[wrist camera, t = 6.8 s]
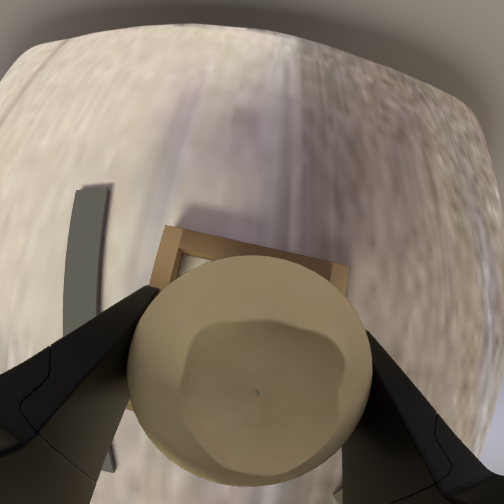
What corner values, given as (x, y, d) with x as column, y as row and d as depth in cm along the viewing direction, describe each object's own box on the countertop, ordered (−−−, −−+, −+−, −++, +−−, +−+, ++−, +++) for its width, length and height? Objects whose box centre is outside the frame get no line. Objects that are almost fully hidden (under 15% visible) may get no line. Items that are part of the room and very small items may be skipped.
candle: (165, 326, 14) (50, 330, 4) (258, 273, 15) (311, 182, 5) (221, 416, 13) (212, 550, 3) (312, 362, 14) (441, 415, 4)
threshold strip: (78, 192, 16) (76, 190, 16) (109, 190, 16) (107, 187, 16) (83, 462, 12) (81, 464, 12) (115, 470, 12) (113, 472, 12)
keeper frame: (305, 434, 14) (312, 444, 13) (134, 401, 14) (125, 408, 12) (339, 270, 16) (349, 266, 15) (170, 233, 16) (165, 225, 14)
